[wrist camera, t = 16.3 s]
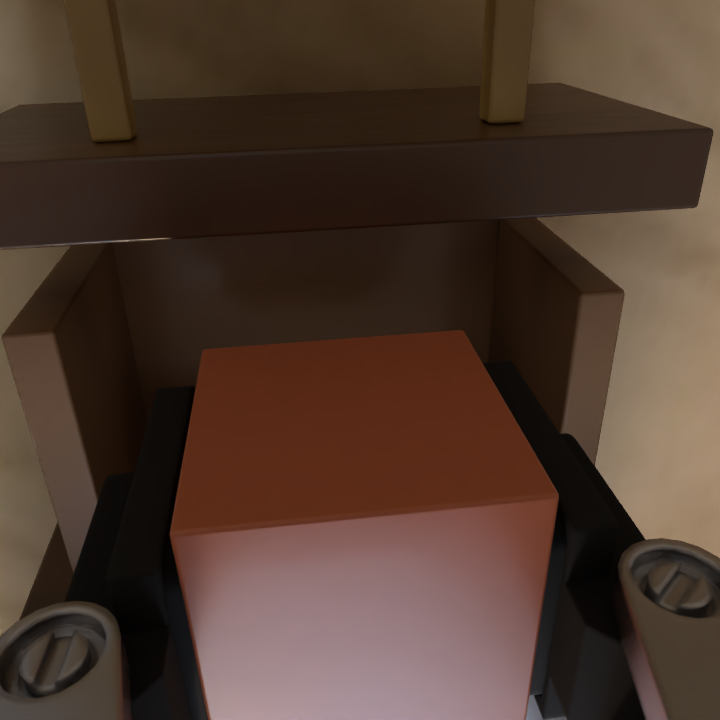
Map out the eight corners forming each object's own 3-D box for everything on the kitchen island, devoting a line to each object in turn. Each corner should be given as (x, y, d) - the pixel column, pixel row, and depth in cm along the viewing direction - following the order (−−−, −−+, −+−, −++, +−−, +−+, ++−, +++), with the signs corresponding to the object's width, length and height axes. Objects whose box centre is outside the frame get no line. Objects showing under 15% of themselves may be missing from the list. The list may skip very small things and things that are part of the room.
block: (231, 547, 12) (217, 774, 9) (202, 347, 10) (168, 533, 7) (452, 525, 12) (525, 732, 9) (464, 328, 11) (561, 495, 7)
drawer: (-84, -301, 11) (-388, -561, 6) (602, -291, 12) (852, -501, 7) (136, 583, 20) (93, 782, 15) (511, 543, 22) (589, 716, 16)
